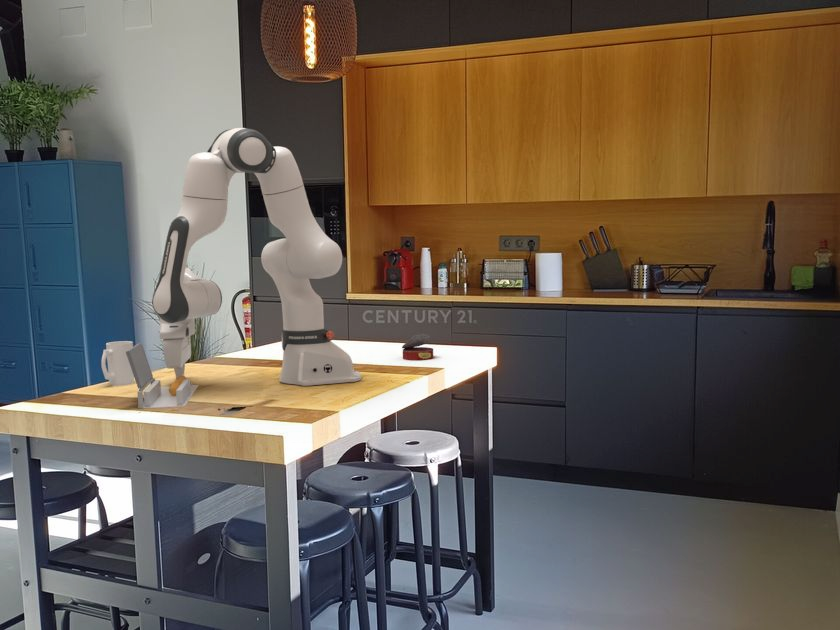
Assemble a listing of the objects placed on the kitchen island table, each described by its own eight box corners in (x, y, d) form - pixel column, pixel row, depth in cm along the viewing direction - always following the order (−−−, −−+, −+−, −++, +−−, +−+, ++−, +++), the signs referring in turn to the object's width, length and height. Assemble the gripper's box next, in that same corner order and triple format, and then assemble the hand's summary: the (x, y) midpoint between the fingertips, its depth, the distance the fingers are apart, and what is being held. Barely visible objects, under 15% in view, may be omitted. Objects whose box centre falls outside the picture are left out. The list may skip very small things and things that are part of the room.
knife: (225, 419, 173) (204, 418, 175) (226, 424, 174) (205, 423, 175) (267, 395, 195) (248, 394, 196) (267, 399, 195) (248, 398, 196)
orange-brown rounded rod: (182, 389, 208) (190, 380, 208) (176, 398, 196) (183, 389, 196) (173, 382, 207) (180, 373, 207) (166, 391, 196) (174, 381, 196)
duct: (198, 388, 211) (198, 370, 210) (185, 410, 184) (184, 389, 184) (157, 390, 209) (156, 372, 208) (138, 412, 183) (136, 391, 182)
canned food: (408, 375, 251) (392, 348, 250) (412, 366, 261) (397, 340, 260) (439, 358, 249) (423, 331, 248) (442, 350, 259) (427, 324, 257)
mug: (121, 383, 220) (119, 340, 219) (140, 385, 217) (138, 341, 216) (93, 390, 211) (90, 345, 210) (113, 392, 208) (110, 346, 207)
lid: (141, 342, 197) (137, 343, 197) (129, 350, 182) (125, 352, 182) (154, 379, 199) (150, 381, 198) (143, 391, 184) (139, 392, 184)
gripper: (171, 324, 220) (174, 374, 222) (158, 333, 200) (161, 387, 202) (195, 323, 221) (197, 372, 223) (184, 332, 201) (186, 386, 202)
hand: (180, 380), depth 212 cm, fingers closed
